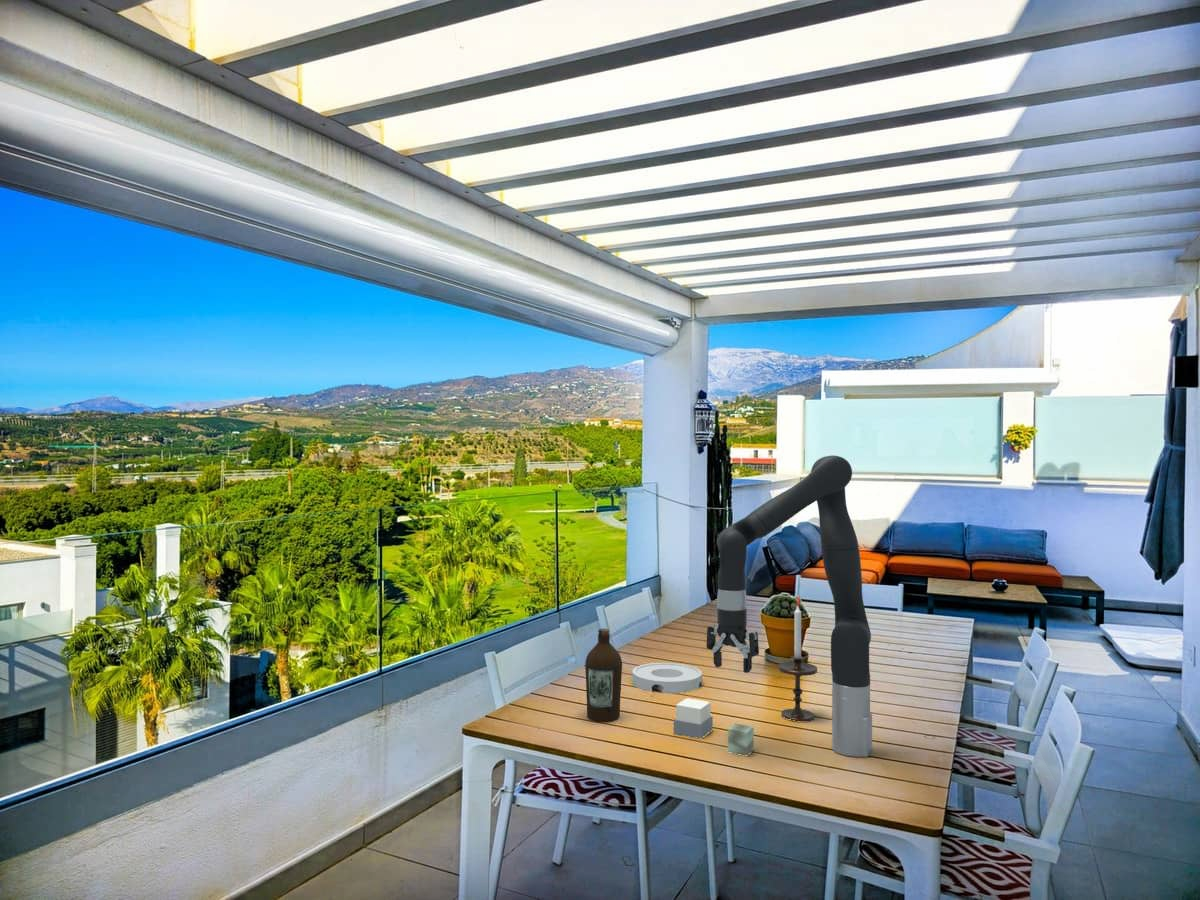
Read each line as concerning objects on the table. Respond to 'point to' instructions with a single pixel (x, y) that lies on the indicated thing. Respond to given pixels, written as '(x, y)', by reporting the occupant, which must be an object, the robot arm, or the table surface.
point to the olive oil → (603, 680)
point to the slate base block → (693, 728)
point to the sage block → (740, 739)
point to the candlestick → (797, 673)
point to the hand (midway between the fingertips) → (732, 669)
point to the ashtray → (666, 677)
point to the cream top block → (693, 711)
